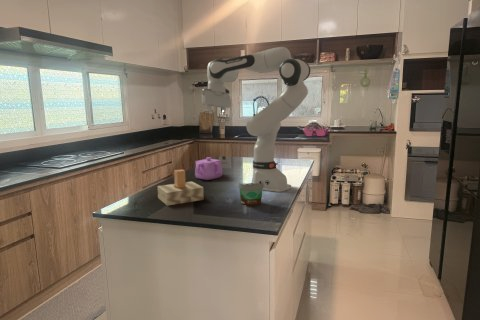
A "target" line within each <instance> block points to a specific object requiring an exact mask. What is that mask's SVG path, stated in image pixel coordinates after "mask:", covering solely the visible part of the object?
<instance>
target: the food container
mask: <svg viewBox="0 0 480 320" xmlns="http://www.w3.org/2000/svg"><path fill="white" fill-rule="evenodd" d="M237 188H239V197H240V204H241V205H242V206H244V205H246V207H257V205H258V206H260V205H261V204H262V197H263V190H262V189H263V188H264V183H263V181H262V183H257V184H256V183H251V182H249V183H246V184H245V183H244V184H243V183H240V182H238V185H237Z"/></svg>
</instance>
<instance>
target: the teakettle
mask: <svg viewBox="0 0 480 320" xmlns="http://www.w3.org/2000/svg"><path fill="white" fill-rule="evenodd" d="M194 163H195V170H194V176H195V178H196V179H200V180H205V181H209V180H210V181H211V180H214V179H218V178H221V177H222V176H223V167H222V160H221V159H215V158H212V157H210V156H209V157H206V158H205V159H200V160H194Z"/></svg>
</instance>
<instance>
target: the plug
mask: <svg viewBox="0 0 480 320" xmlns="http://www.w3.org/2000/svg"><path fill="white" fill-rule="evenodd" d="M173 173H174V184H175V188H177V189H178V188H185V187H186V183H185V182H186V171H185V170H184V169H174V171H173Z"/></svg>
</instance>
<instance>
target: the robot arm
mask: <svg viewBox="0 0 480 320" xmlns="http://www.w3.org/2000/svg"><path fill="white" fill-rule="evenodd" d="M206 70H207V71H206V73H207V74H206V75H207V77H206V78H207V81H208V82H207V87H204V88H202V89H201V104H202V105H203V106H206V108H207V110H208V114H210V115H212V114H214V110H213V109H212V107H213V108H214V107H215V108H221V110H222V111H221V112H220V115H221V116H225V115H226V110H227V109H229V108H231V106H232V105H231V104H232V102H231V96H230V94H231V91H230V89H228V88H227V87H225V86H224V83H233V82H235V81H236V80H237V79H238V76H239V70H241V71H242V70H246V71H247V70H248V71H251V72H255V73H259V74H267V73H271V72H274V71H278V72H279V73H278V74H279V76H280V78H281V79H282V81H283V84H284V85H285V86H286V87H284V89H283V90H281V92H280V93H279V94H278V96H277V97H275V99H273V100H272V102H270V103H269V104H268V105H267V106H265V107H264V108H263V109H261V110H260V111H258V112H257V114H255V115H254V116H251V118H249V119H248V120H247V122H246V125H245V128H246V131H247V133H248V134H250V136H253V137H257V139H256V142H255V144H254V146H253V160H252V170H253V171H252V178H251V182H250V183H256V184H257V183H262V181H263V183H264V188H263V189H262V191H267V192H275V193H276V192H277V193H281V192H285V191H288V190H290V189H291V188H292V184H288V179H287V176H286V175H285V174H284V173H283V172H282V171H281V170H280V169H278V167H277V166H278V165H279V164H278V163H279V162H275V160H274V159H275V145H276V144H275V143H276V140H277V136H278V132H279V130H280V128H281V124H282V123H281V122H282V121H284V120H285V119H287V118H288V117H289V116H290V115H291V114H292V113H293V112H294V111H295V110H296V109H298V107H299V106H300V105H301V104H302V103H303V101H304V100H305V98H306V97H307V95H308V94H309V90H308V87H307V86H306V84H305V83H304V81H306V80H307V79H308V78H309V76H310V74H311V66H310V65H309V64H308V63H307V61H305V60H303V59H299V58H292V54H291V51H290V50H289V49H288V47H286V46H277V47H273V48H268V49H265V50H262V51H258V52H255V53H250V54H247V55H246V54H245V55H240V56H235V57H231V58H228V59H221V58H215V59H214V60H211V61H210V62H208V64H207V68H206Z"/></svg>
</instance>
